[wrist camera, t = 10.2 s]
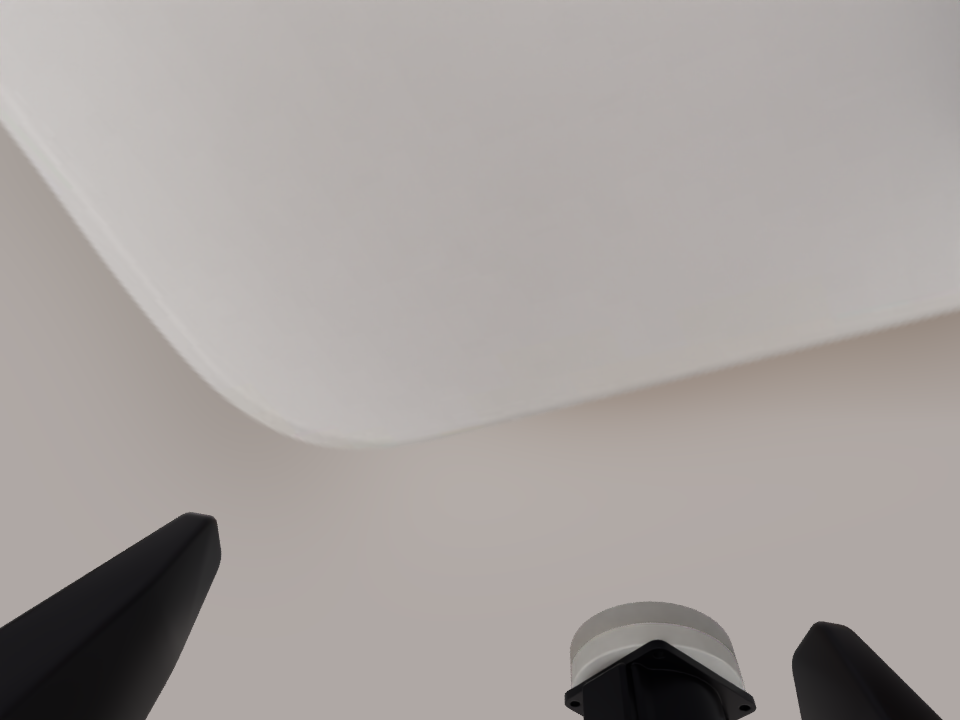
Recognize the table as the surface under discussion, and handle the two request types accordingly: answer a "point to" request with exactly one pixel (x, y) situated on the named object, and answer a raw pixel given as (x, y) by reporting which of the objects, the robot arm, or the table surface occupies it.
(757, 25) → the table surface
